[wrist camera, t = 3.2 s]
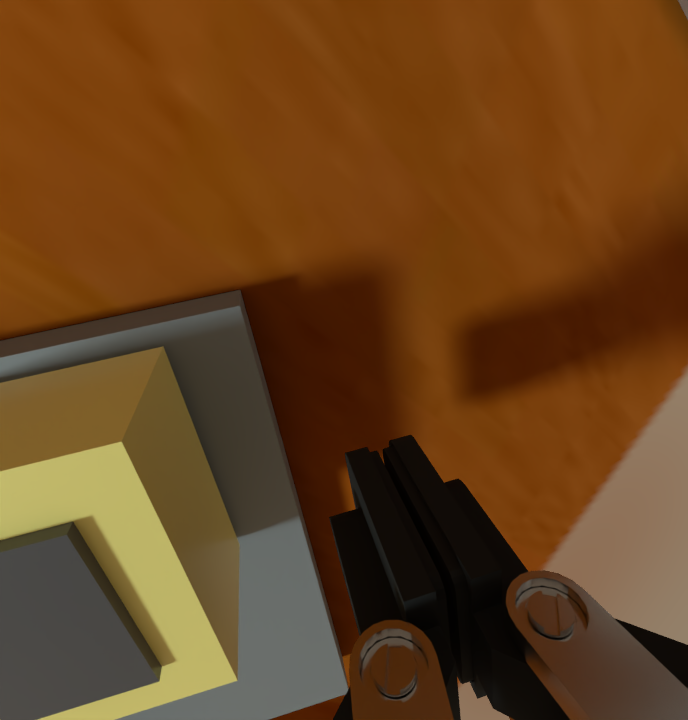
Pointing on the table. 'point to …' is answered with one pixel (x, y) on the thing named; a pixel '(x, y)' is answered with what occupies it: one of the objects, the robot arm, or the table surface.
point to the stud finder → (110, 546)
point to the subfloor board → (226, 496)
